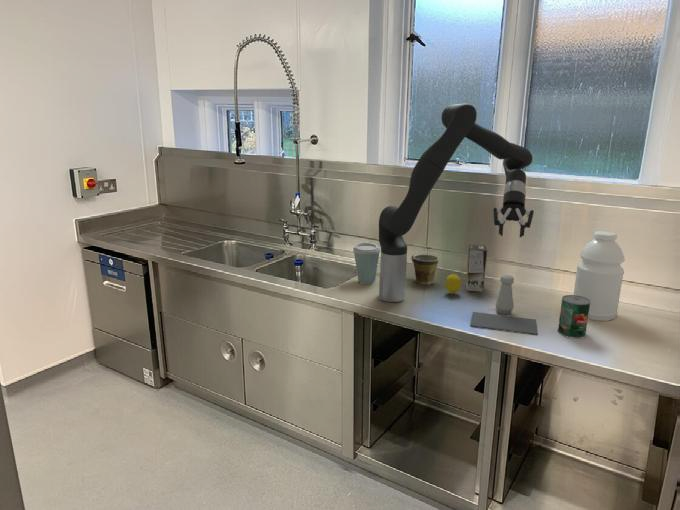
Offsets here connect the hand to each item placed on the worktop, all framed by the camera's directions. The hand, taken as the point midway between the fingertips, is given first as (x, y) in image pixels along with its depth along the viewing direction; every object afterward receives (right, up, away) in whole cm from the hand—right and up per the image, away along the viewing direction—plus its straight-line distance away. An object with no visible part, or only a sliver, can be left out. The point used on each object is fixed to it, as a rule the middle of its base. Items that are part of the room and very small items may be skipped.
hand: (511, 235), depth 180 cm
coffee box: (-7, -20, +21) cm, 30 cm away
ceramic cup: (-26, -17, +28) cm, 42 cm away
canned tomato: (+12, -31, -19) cm, 39 cm away
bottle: (+27, -27, -4) cm, 38 cm away
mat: (-7, -29, -13) cm, 32 cm away
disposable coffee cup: (-49, -18, +26) cm, 58 cm away
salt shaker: (-4, -26, -4) cm, 27 cm away
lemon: (-17, -22, +14) cm, 31 cm away
